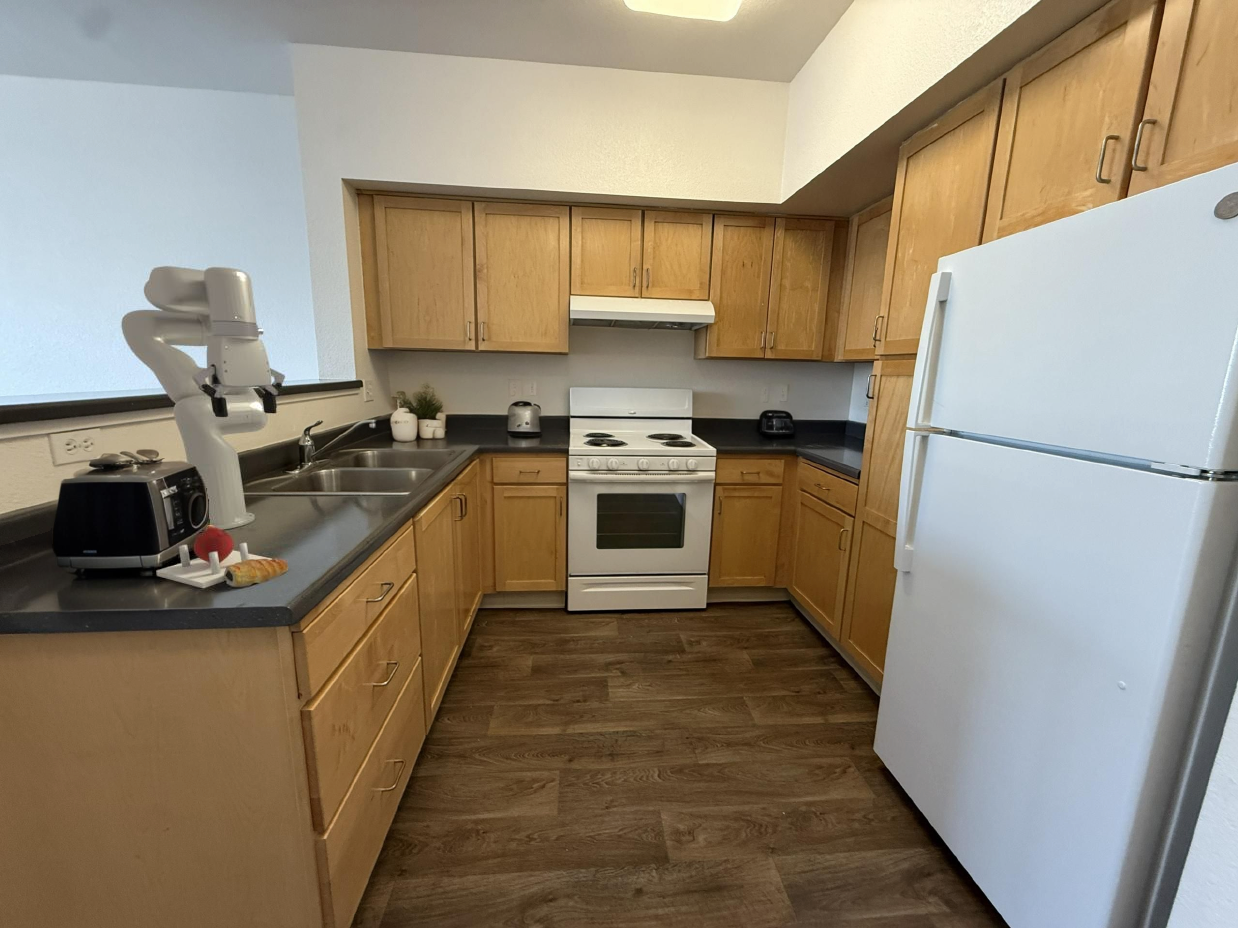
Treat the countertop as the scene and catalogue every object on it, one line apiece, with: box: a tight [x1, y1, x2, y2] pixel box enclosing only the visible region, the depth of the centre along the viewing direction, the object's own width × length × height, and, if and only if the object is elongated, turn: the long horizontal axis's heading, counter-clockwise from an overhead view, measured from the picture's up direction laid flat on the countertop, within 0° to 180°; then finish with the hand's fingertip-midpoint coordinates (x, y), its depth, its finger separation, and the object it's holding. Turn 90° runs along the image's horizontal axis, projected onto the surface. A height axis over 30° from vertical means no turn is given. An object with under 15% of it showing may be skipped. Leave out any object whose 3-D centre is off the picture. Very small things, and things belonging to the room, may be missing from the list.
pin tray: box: [156, 542, 273, 589], centre depth 93 cm, size 14×12×5 cm
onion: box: [193, 525, 235, 563], centre depth 92 cm, size 6×6×8 cm
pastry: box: [224, 558, 289, 588], centre depth 89 cm, size 9×7×4 cm
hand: (247, 414), depth 103 cm, fingers open, 9 cm apart
